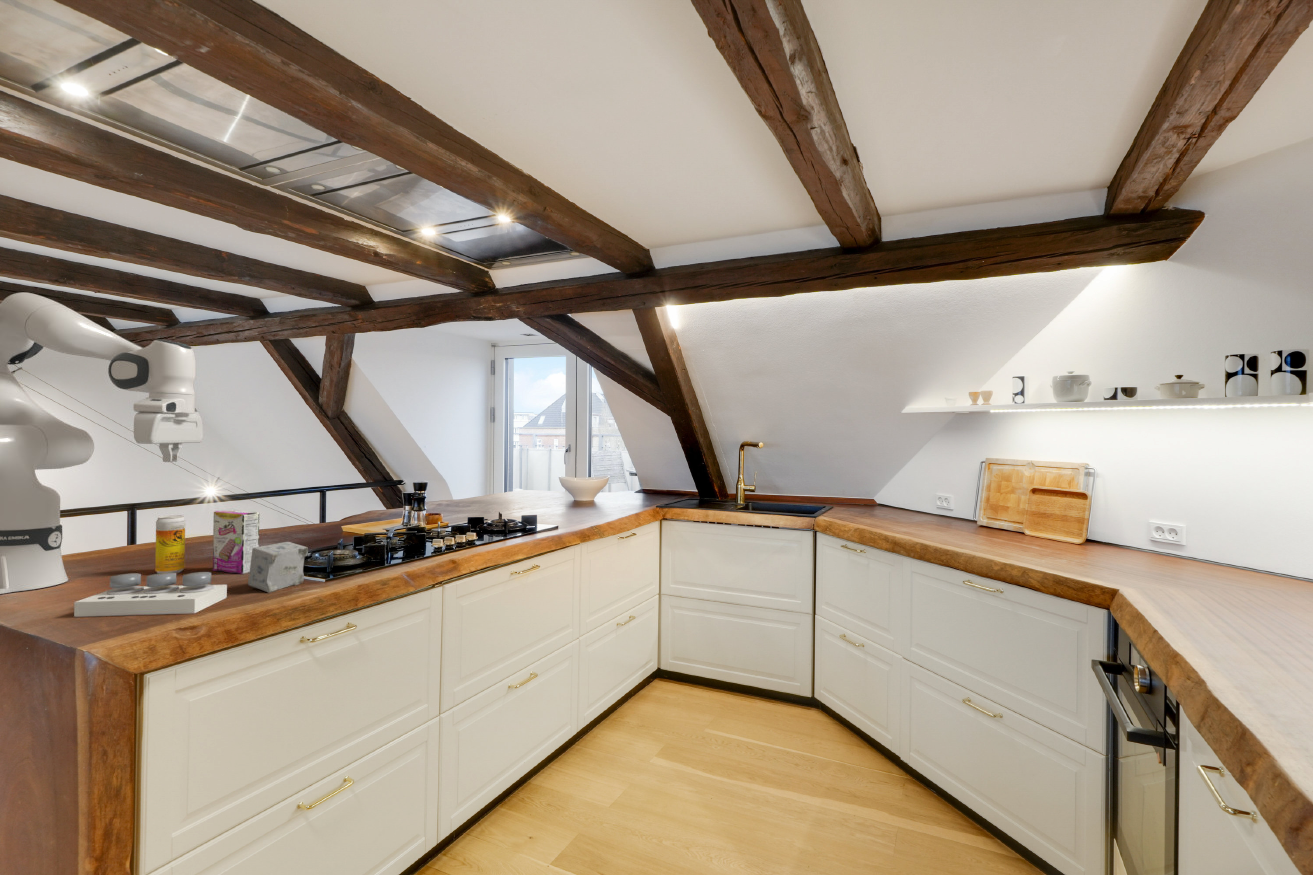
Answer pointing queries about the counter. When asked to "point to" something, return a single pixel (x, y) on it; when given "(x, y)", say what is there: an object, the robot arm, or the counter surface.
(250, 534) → the candy bar box
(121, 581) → the button two
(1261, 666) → the counter surface
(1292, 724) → the counter surface
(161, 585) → the button three
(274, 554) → the grey stone block
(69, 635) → the counter surface
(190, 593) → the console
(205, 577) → the button one
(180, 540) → the beer can
